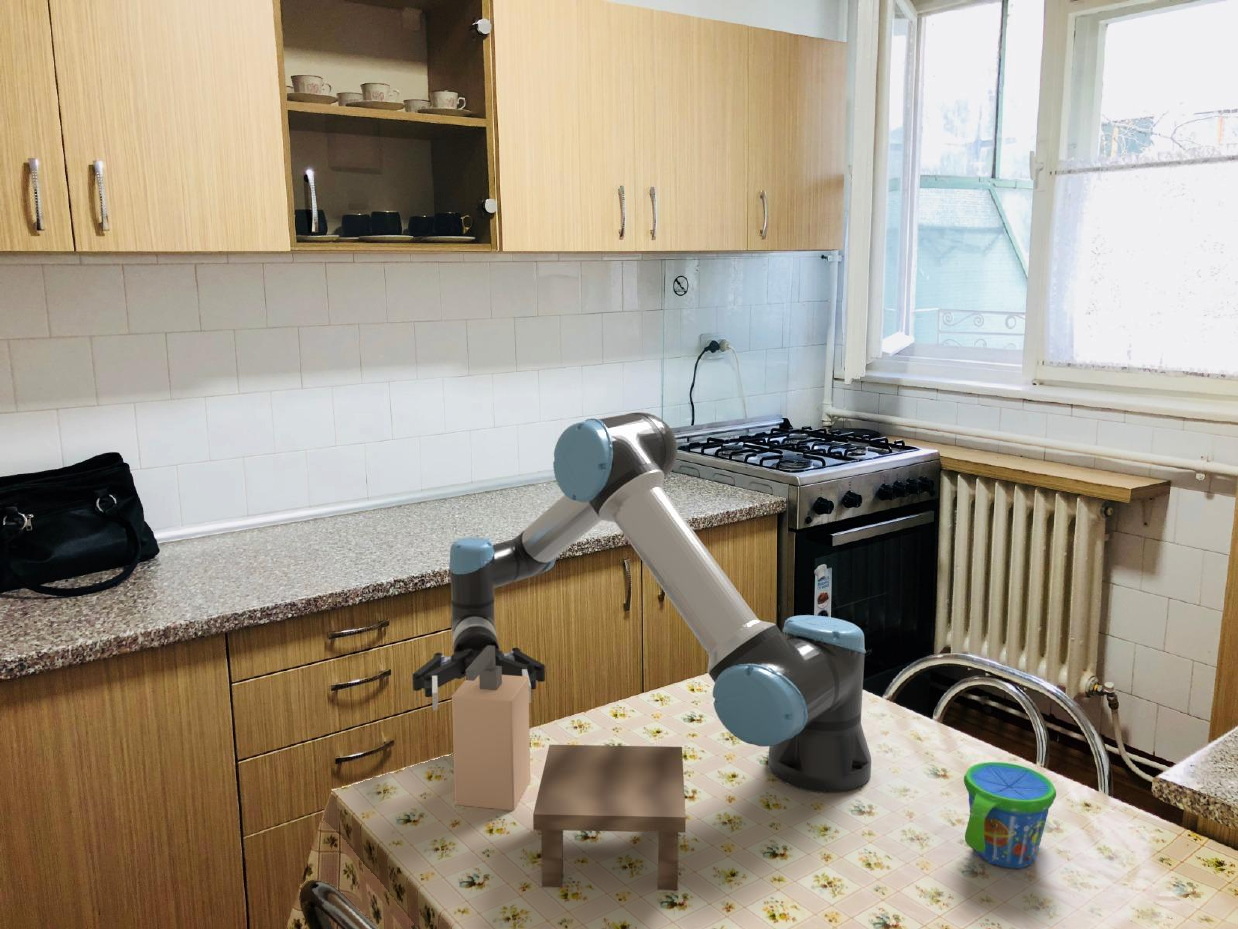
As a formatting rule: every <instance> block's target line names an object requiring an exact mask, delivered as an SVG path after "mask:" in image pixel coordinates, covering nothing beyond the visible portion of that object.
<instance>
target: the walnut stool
mask: <svg viewBox="0 0 1238 929" xmlns="http://www.w3.org/2000/svg"><path fill="white" fill-rule="evenodd" d="M544 762H545V763H544V766H543V771H542V774H541V779H540V784H539V788H538V792H537V796H536V800H535V801H536V802H535V804H534V805H535V806H534V809H533V813H532V817H533V818H532V822H533V824H532V825H533V826H532V828H533V829H532V830H534V831H540V847H541V848H540V849H541V850H540V851H541V853H540V854H541V857H540V858H541V888H559V889H560V888H562V887H563V882H564V877H565V875H564V874H565V872H564V831H570V832H571V831H572V832H573V831H576V832H577V831H578V832H585V831H586V832H619V833H620V832H626V833H627V832H629V833H631V832H632V833H634V832H635V833H657V837H658V838H657V839H658V840H657V854H658V855H657V890H661V891H679V834H680V833H682V834H686V833H687V832H686V831H687V830H686V829H687V827H686V825H687V824H686V822H687V821H686V820H687V819H686V818H687V816H686V799H685V798H686V796H685V795H686V794H685V780H684V779H685V778H684V777H685V776H684V760H683V746H662V745H661V746H660V745H659V746H658V745H657V746H656V745H654V746H653V745H650V746H649V745H605V744H603V745H598V744H597V745H595V744H592V745H591V744H589V745H588V744H586V745H585V744H549V745H548V748H547V754H546V758H545V761H544Z"/></svg>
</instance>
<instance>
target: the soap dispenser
mask: <svg viewBox="0 0 1238 929" xmlns="http://www.w3.org/2000/svg"><path fill="white" fill-rule="evenodd" d="M451 713H452V714H451V716H452V740H453V741H452V744H453V745H452V746H453V748H452V749H453V776H454V802H455V806H462V805H463V807H471V808H473V807H474V808H480V809H481V808H482V809H484V808H485V809H491V808H492V809H491V810H493V809H494V810H505V811H515V810H516V807H517V806H518V803H520V802H521V801H520V800H521V799H522V797H523V796H524V793H525V792H526V790H527V788H528V786H529V785H530V783H531V751H530V750H531V748H530V747H531V744H530V738H531V736H530V703H529V681H528V677H525V676H512V675H502V667H501V666H495V646H490V645H487V647H486V648H485V649H484V650H483V651H482V652H481V653H480V654H479V656H478V657H477V658H476V659H475V660H474V661H473V662H472V663H471V665H470V666H469V667H468V668H467V669H466V676H465V680H464V681H463V683H461V685H460V686H459V687H458V688H457V689H456V690H455V691H454V692H453V694H452V695H451Z"/></svg>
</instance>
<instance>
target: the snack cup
mask: <svg viewBox="0 0 1238 929" xmlns="http://www.w3.org/2000/svg"><path fill="white" fill-rule="evenodd" d="M963 783H964V786H965V789H966V791H967V793H968V804H969V818H968V821H967V822H968V823H967V826H966V830H965V833H964V840H965V843H966V845H968V847H969V848H971V849H972V850H974V851H975V852H976V853H977V854H978V855H979V856H980V857H981V858H983V859H984V860H986V862H987V863H988V864H992V865H993V864H994V865H997V866H1000V867H1003V868H1017V869H1024V868H1025V867H1026V866H1030V865H1032V864H1033V863H1034V861H1035V859H1036V858H1037V856H1038V853H1039V849H1040V845H1041V843H1042V842H1041V841H1042V837H1043V835H1044V830H1045V827H1046V823H1047V819H1048V818H1047V817H1048V815H1049V809H1050V808H1051V807H1052V805H1053V804H1054V801H1055V799H1056V798H1057V790H1056V788H1055V786H1054V784H1053V782H1052V781H1051V779H1049V778H1048V777H1047V776H1045V775H1044V774H1042V773H1040V772H1038V771H1036V770H1034V769H1032V768H1028V767H1026V766H1024V765H1019V764H1015V763H1010V762H1002V761H989V762H987V761H986V762H980V763H977V764H974V765H972V766H970V767H969V768H967V771H966V772H965V774H964V775H963Z"/></svg>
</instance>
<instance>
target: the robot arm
mask: <svg viewBox="0 0 1238 929" xmlns="http://www.w3.org/2000/svg"><path fill="white" fill-rule="evenodd" d="M676 439H677V438H676V436H675V434H674V432H673V430H672V428H671V427H670V426H669V425H668V423H666V422H665V421H664V420H663V419H661V418H660V417H658V416H656V415H654V414H651V413H648V412H643V411H642V412H630V413H625V414H620V415H616V416H609V417H604V418H603V417H602V418H588V419H585V420H584V421H581V422H576V423H573V424H571V425H570V426H568V427H567V428H566V429H565V430H563V432H562V433H561V434H560V436H559V438H558V440H557V442H556V445H555V447H554V451H553V458H554V460H553V462H552V465H553V466H552V467H553V473H554V474H553V475H554V478H555V480H556V483H557V486H558V488H559V490H560V491H561V492H562V493H563V494H564V495H563V496H562V497H561V498H559V499H558V500H557V501H556V502H555V503H553V504H552V505H551V506H550V507H549V508H548V509H547V510H545V511H543V513H542V514H541V515H540V516H538V518H536V519H535V520H534V521H533V522H532V523H530V524H529V525H528V526H527V527H526V528H525V529H524V530H523V531H522V532H520V533H519V534H518V535H516V537H514V538H512V539H509V540H506V541H502V542H498V543H495V544H493V542H492V541H491V540H490V539H488V538H486V537H485V538H484V537H477V536H476V537H474V536H472V537H466V538H463V537H462V538H459V539H457V540H455V541H454V542H452V544H451V546H450V549H449V550H450V551H449V574H450V575H449V576H450V590H451V591H450V592H451V594H450V595H451V598H450V599H451V603H450V604H451V605H450V606H451V607H450V608H451V610H450V612H451V616H450V628H451V632H452V649H453V650H452V651H453V654H451V656H445V655H443V653H442V652H435V653H433V658H431V659H430V660H429V661H427V662H426V663H425V664H424V665H422V666H420V668H419V669H418V670H416V671H415V672H414V673H412V691H415V692H419V691H422V689H423V690H424V697H425V698H431V700H432V711H438V710H439V689H438V688H440V687H442V686H444V685H446V684H448V683H450V682H452V681H453V680H455V679H457V680H461V679H463V678H464V677H465V678H466V669H467V668H468V667H469V666H470V665H471V663H472V662H473V661H474V660H475V659H476V658H477V657H478V656H479V654H480V653H481V652H482V651H483V650H484V649H485V648H486V647H487V645H490V646H495V666H501V667H502V675H512V676H525V677H528V681H529V704H530V703H532V690H536V689H537V682H540V683H542V682H545V681H546V665H545V664H544V663H541V662H540V661H538V660H536V659H535V658H534V657H531V656H529V655H528V654H525V653H524V652H522V651H521V649H520V648H519V647H512V648H511V651H509V652H505V653H504V652H503V651H502V650H500V645H499V641H498V634H497V631H496V623H495V615H496V614H495V589H496V588H498V587H503V586H505V585H508V584H511V583H515V582H518V581H521V580H525V579H528V578H531V577H532V578H533V577H537V576H540V575H541V574H543V573H545V572H548V571H549V570H551V569H552V568H553V567H554V566H555V562H556V560H557V557H558V556H559V555H561V553H563V552H564V551H566V550H567V549H569V547H570V546H571V545H573V544H574V543H576V542H577V541H578V540H579V539H580V538H581V537H583V536H584V535H585V534H586V533H588V532H589V531H590V530H591V529H593V528H594V527H595V526H596V525H598V524H600V522H602V521H606V522H612V523H615V524H616V525H617V527H618V528H619V530H620V531H621V533H622V534H623V535H624V536H625V538H626V539H627V541H628V542H629V544H630V546H631V547H632V548H633V549H634V551H635V552H636V554H637V556H639V558H640V560H641V561H642V563H644V565H645V567H646V568H647V569H648V570H649V573H650V574H651V576H652V577H653V578H654V580H655V581H656V583H657V584H658V585H659V586H660V587H661V589H662V590H663V592H664V594H665V595H666V596H667V598H668V599H669V601H670V602H671V604H672V605H673V607H674V608H675V609H676V611H677V612H678V613H679V614H680V616H681V618H682V619H683V621H684V622H685V624H686V625H687V626H688V628H689V630H691V633H693V635H694V637H695V638H696V639H697V641H698V642H699V644H700V645H701V646H702V647H703V649H704V650H705V651H706V653H707V655H708V664H707V674H708V675H709V677H710V678H711V680H712V681H713V682H714V685H713V689H712V697H713V699H714V702H713V708H714V711H715V713H716V715H717V717H718V719H719V721H720V722H721V724H722V725H723V726H724V728H725V729H726V730H727V731H728V732H729V733H730V734H731V735H732V736H734V737H735V738H737V739H738V740H739V741H740V742H741V741H742V742H744V743H746V744H748V745H754V746H757V747H769V749H768V760H767V762H768V763H767V766H768V769H769V771H770V772H771V773H772V774H773V776H774V777H776V778H777V779H778V780H779V781H782V783H785V784H787V785H790V786H791V787H795V788H798V789H802V790H806V791H809V792H817V793H841V792H842V793H843V792H847V791H852V790H855V789H859V788H860V787H862V786H864V785H865V784H866V783H867V782H868V781H869V780H870V778H871V776H872V756H871V752H870V749H869V746H868V742H867V739H866V736H865V732H864V729H863V726H862V706H863V704H862V703H863V690H864V688H863V687H864V673H865V672H864V670H865V654H866V653H867V652H866V649H865V634H864V632H863V630H862V629H861V627H859V626H857V625H856V624H855V623H852V622H849V621H847V620H845V619H840V618H836V617H830V616H824V615H823V616H822V615H811V614H805V615H803V614H802V615H801V614H800V615H795V616H790V617H788V618H787V619H785V621H784V625H783V628H782V631H781V630H780V629H779V627H778V625H776V624H775V623H774V622H768V621H763V620H760V619H759V618H758V616H757V615H756V614H755V613H754V612H753V610H752V608H751V607H750V606H749V604H748V603H747V602H746V600H745V599H744V597H742V594H740V592H739V591H738V590H737V588H736V587H735V585H734V584H733V583H732V581H731V580H730V578H729V577H728V576H727V575H726V573H725V572H724V570H722V567H721V566H720V565H719V563H718V562H717V561H716V560H715V558H714V557H713V556H712V554H711V553H710V551H709V550H708V549H707V547H706V546H705V545H704V543H703V542H702V541H701V539H700V538H699V536H698V535H697V534H696V532H695V531H694V530H693V528H692V527H691V525H690V524H689V523H688V521H687V520H686V518H684V516H683V515H682V514H681V512H680V510H679V509H678V507H677V506H676V505H675V504H674V502H673V501H672V499H671V498H670V497H669V496H668V494H667V493H666V492H665V490H664V489H663V488H664V487H663V486H664V482H665V478H666V477H667V476H669V474H670V473H671V472H672V470H673V469H674V467H675V465H676V462H677V457H678V442H677V440H676Z"/></svg>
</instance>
